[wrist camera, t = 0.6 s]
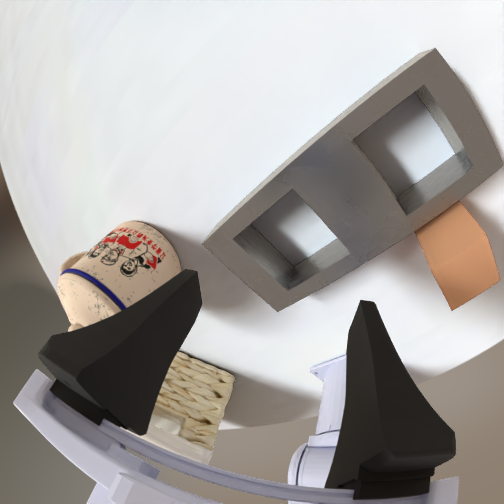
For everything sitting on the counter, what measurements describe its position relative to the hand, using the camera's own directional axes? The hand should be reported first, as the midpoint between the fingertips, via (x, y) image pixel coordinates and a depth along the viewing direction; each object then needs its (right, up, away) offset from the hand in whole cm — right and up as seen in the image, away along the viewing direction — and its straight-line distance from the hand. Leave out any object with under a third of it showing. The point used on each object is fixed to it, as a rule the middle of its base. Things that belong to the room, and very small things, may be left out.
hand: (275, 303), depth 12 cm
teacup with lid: (-13, +2, +15) cm, 20 cm away
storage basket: (-12, -20, +31) cm, 38 cm away
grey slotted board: (+6, +7, +6) cm, 10 cm away
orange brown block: (+13, +4, +5) cm, 15 cm away
